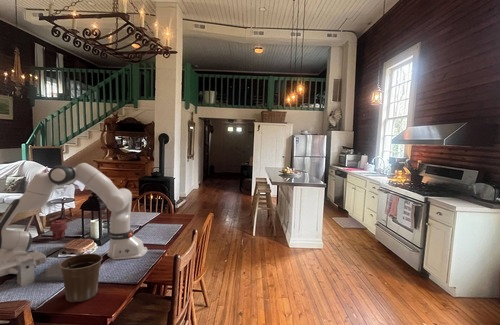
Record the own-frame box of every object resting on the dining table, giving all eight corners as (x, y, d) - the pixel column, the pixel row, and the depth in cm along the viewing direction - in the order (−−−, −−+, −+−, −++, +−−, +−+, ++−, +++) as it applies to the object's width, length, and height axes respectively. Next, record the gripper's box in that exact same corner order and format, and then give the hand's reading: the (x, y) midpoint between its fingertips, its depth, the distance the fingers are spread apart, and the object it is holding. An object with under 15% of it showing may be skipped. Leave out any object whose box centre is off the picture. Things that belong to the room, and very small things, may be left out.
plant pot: (86, 282, 135) (86, 250, 133) (110, 290, 128) (110, 256, 127) (51, 299, 120) (50, 264, 118) (77, 309, 113) (76, 272, 112)
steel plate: (82, 267, 149) (82, 263, 148) (67, 281, 135) (67, 276, 134) (54, 268, 147) (54, 263, 147) (36, 281, 133) (36, 276, 133)
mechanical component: (71, 236, 193) (58, 241, 183) (59, 235, 195) (46, 240, 185) (70, 219, 192) (58, 223, 182) (58, 218, 194) (45, 222, 184)
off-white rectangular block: (30, 278, 137) (29, 254, 136) (34, 282, 133) (33, 258, 132) (17, 282, 133) (16, 258, 132) (21, 286, 129) (20, 261, 128)
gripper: (-12, 262, 131) (-3, 271, 123) (39, 249, 148) (50, 256, 140) (-11, 275, 132) (-3, 284, 124) (40, 260, 148) (50, 267, 140)
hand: (26, 269), depth 132 cm, fingers open, 5 cm apart
